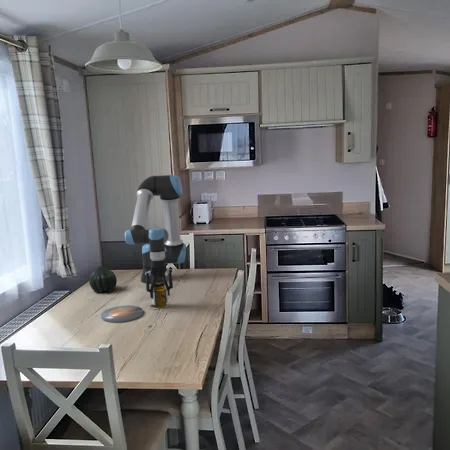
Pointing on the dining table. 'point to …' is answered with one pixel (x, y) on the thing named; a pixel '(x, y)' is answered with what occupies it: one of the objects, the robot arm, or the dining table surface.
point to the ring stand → (122, 313)
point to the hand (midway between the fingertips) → (160, 303)
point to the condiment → (159, 296)
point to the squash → (102, 279)
